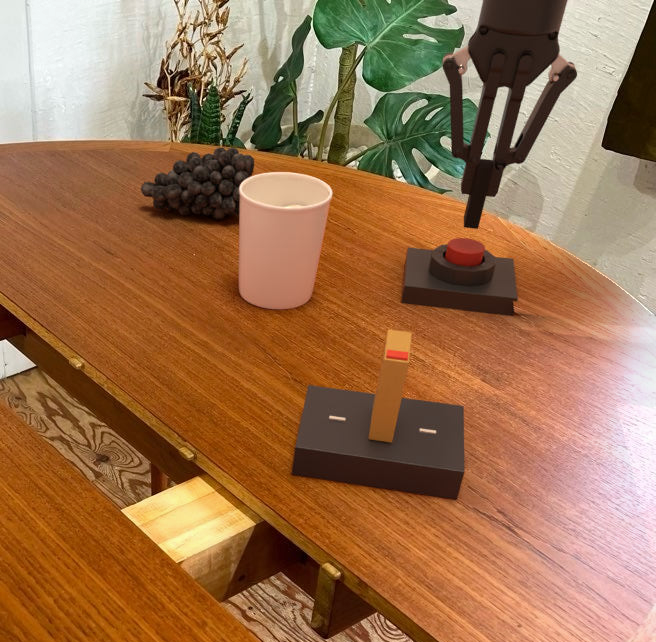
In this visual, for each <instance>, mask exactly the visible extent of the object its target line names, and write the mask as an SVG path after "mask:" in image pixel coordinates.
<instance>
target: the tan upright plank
mask: <svg viewBox="0 0 656 642" xmlns="http://www.w3.org/2000/svg"><path fill="white" fill-rule="evenodd" d="M412 335H413V333H412V331H411V332H410V331H403V330H396V329H387V332H386V337H385V340H384V341H385V343H384V347H383V353H382V358H381V362H380V368H379V373H378V377H377V378H378V379H377V382H376V389H375V393H374V394H375V398H374V404H373V409H372V417H371V424H370V431H369V439H370V440H376V441H383V442H390V443H392V441H393V436H394V431H395V427H396V422H397V417H398V413H399V408H400V403H401V399H402V398H403V394H404V389H405V384H406V380H407V375H408V371H409V366H410V357H411V349H412V348H411V346H412V338H413V337H412Z"/></svg>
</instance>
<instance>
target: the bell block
mask: <svg viewBox="0 0 656 642" xmlns="http://www.w3.org/2000/svg"><path fill="white" fill-rule="evenodd" d="M447 246H448V243H446V244H441V245H439V246H437V247H436V248H434V249H427V248H417V247H407V248H406V249H407V250H406V254H405V258H404V259H405V260H404V265H403V274H402V276H403V277H402V288H401V299H400V300H401V301H400V303H401V304H405V305H415V306H421V307H422V306H423V307H432V308H438V309H440V308H441V309H449V310H455V311H457V310H458V311H465V312H474V313H481V314H490V315H498V316H507V317H513V316H514V314H515V313H514V312H515V306H514V305H515V304H514V302H517V301H518V299H519V298H518V289H517V282H516V272H515V271H516V270H515V262H514V258H510V257H500V256H495V255H494V254H492V253H491V252H490V251H488V250H487V249H485V251H484V255H483V259H482V263H481V264H480V265H478V266H461V265H456V264H453V263H450V262H448V261H447V260H446V259H445V255H446V250H447Z"/></svg>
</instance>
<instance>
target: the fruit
mask: <svg viewBox="0 0 656 642" xmlns="http://www.w3.org/2000/svg"><path fill="white" fill-rule="evenodd" d="M185 160H186V161H185ZM185 160H182V159H179V160H176V161H175V162H174V163H173V166H172V169H171V170H169V171H168V172H167V174H166V173H165V172H158V173H156V174H155V176H154V181H144V182H143V183H142V184H141V187H140V192H141V194H142V195H143V196H144V197H145V198H146V197H147V198H152V199H153V200H152V205H153V207H154V208H155V209H156V210H159V211H162V210H165V209H167V210H169V211H171V212H172V211H175V210H176V209H178V212H179V214H180V215H182V216H188V215H189V214H190V213H191V212H192V213H193V214H195V215H200V214H202V215H204V216H210V215H212V217H213V218H214V219H215V220H223V219H224V218H225V216H232V215H234V216H236V217H239V205H240V195H239V187H240V184H241V183H242V182H243V181H244V180H246V179H247V178H249V177H252V176H253V174H254V168H255V158H254V157H253V156H252V155H250V154H243V153H241V152H240V151H239V150H238V149H237V148H235V147H230V148H228V149H226V148H225V147H218V148H215V149H214V151H213V154H212V153H209V152H207V153H205V154H203V156H202V157H201V156H200V154H199V153H198V152H195V151H192V152H190V153H188V155H187V156H186V159H185Z"/></svg>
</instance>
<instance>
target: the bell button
mask: <svg viewBox="0 0 656 642" xmlns="http://www.w3.org/2000/svg"><path fill="white" fill-rule="evenodd" d="M447 244H448V246H447V250H446V255H445V259H446V260H447V261H448V262H450V263H453V264H456V265H461V266H478V265H480V264H481V263H482V259H483V255H484V251H485V250H486V247H485V244H483V243H482V242H480V241H479V240H476V239H473V238H467V237H457V238H452V239H450V240H449V241H448V242H447Z"/></svg>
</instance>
